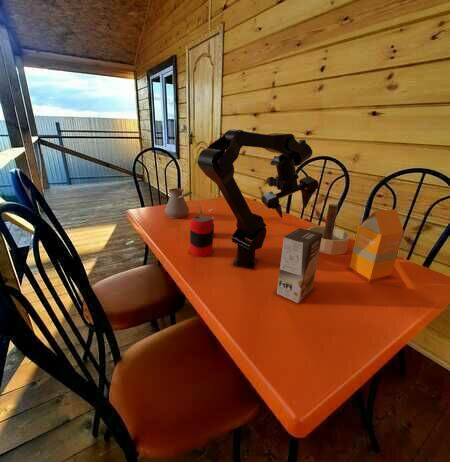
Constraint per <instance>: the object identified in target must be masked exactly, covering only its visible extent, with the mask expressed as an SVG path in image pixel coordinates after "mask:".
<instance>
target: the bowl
mask: <svg viewBox="0 0 450 462" xmlns="http://www.w3.org/2000/svg"><path fill="white" fill-rule="evenodd" d="M307 230H311V231H314V232H318V233H321V234H322V239H321V244H320V250H319V254H323V255H329V256H330V255H331V256H338V255H344V254H346V253H347V252H348V250H349V245H350V241H351V235H350V234H349V233H348V232H347V231H345V230H343V229H340V228H337V227H334V231H333V236H332V240H328V239H323V235H324V230H325V225H316V226H315V225H313V226H311V227H308V228H307Z"/></svg>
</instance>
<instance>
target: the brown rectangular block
mask: <svg viewBox="0 0 450 462" xmlns="http://www.w3.org/2000/svg"><path fill="white" fill-rule="evenodd" d="M338 209H339V205H338V204H335V203H329V204H328V208H327V212H326V219H325V224H324V226H325V230H324V235H323V239H328V240H332V236H333V231H334V228H335V225H336V219H337V213H338Z"/></svg>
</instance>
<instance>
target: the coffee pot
mask: <svg viewBox="0 0 450 462" xmlns="http://www.w3.org/2000/svg"><path fill="white" fill-rule="evenodd" d="M168 191H169V192H170V195H169V199H168V201H167V203H166V206H165V208H164V212H165V214H166V215H167V216H168V217H169V218H172V219H182V218H185V217H186V216H187V215H188V214H189V212H190V209H189V205H188V204H187V201H186V199H185V197H188V196H189V197H191V198H192V197H194V196H195V193H194V192H192V191H188V192H185V193H184V189H183V188H178V187H176V188H169V190H168ZM183 193H184V194H183ZM191 194H193V195H191Z"/></svg>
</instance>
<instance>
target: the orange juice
mask: <svg viewBox="0 0 450 462" xmlns="http://www.w3.org/2000/svg"><path fill="white" fill-rule="evenodd" d="M402 225H403V224H402V223H401V220H400V216H399V213H398V211H397V208H394V209H393V208H392V209H383V210H375V211H373V212H372V213H371V214H370V215H369V216H368V217H367V218H366V219H365V220H364V221H362V222H361V223H360V224H359V225H358V227H357V232H356V236H355V240H354V244H353V247H352V253H351V258H350V263H349V268H351V269H352V270H354V272H357V273H358V274H360V275H361V276H363V277H365V278H367V279H366V281H367V282H369V283H370V282H372V280H374V279H375V280H376V279H380V278H385V277H388V276H392V274H393V271H394V267H395V263H396V261H397V257H398V254H399V250H400V247H401V243H402V239H403V236H404V233H405V231H404V228H403V226H402Z"/></svg>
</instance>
